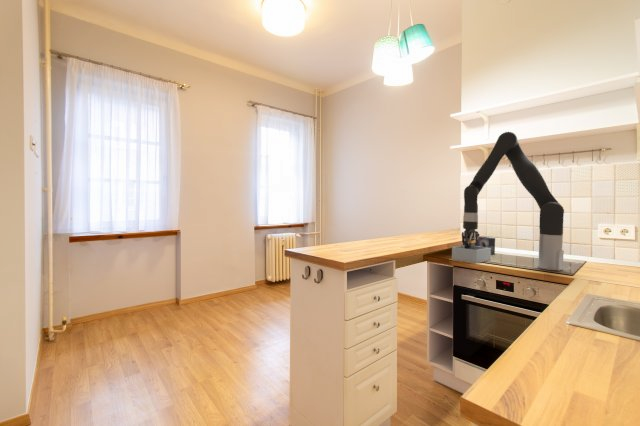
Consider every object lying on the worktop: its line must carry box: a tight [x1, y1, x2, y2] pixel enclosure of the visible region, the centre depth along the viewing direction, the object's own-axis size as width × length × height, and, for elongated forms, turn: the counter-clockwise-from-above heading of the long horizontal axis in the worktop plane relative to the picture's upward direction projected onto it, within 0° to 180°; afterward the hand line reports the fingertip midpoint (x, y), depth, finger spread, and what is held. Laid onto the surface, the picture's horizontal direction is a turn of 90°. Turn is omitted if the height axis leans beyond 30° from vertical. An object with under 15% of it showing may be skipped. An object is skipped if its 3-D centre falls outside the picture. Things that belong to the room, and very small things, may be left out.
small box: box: [478, 235, 496, 256], centre depth 193 cm, size 11×6×10 cm, turn 25°
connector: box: [464, 240, 476, 250], centre depth 172 cm, size 4×4×10 cm
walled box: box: [451, 244, 492, 264], centre depth 171 cm, size 14×16×7 cm
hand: (469, 249), depth 172 cm, fingers open, 6 cm apart
